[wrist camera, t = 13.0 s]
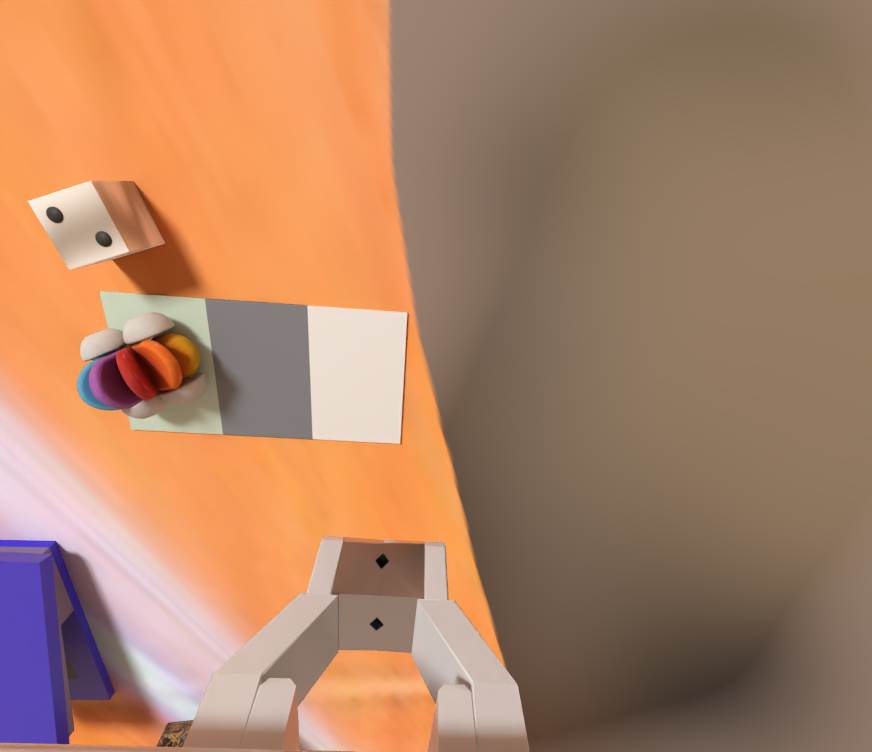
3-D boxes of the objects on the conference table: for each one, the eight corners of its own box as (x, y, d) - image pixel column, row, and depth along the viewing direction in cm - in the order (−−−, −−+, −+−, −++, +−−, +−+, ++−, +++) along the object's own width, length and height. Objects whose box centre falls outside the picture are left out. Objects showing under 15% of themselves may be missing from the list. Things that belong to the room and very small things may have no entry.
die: (78, 199, 36) (26, 201, 31) (134, 181, 35) (90, 180, 30) (112, 259, 37) (68, 270, 33) (165, 243, 37) (128, 251, 32)
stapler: (37, 689, 60) (-31, 777, 51) (-41, 532, 49) (-145, 610, 40) (123, 689, 61) (70, 777, 52) (65, 534, 50) (-15, 612, 41)
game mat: (101, 291, 38) (99, 291, 38) (407, 312, 40) (407, 312, 40) (132, 428, 44) (131, 429, 44) (400, 442, 45) (400, 443, 45)
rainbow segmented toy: (228, 381, 42) (191, 417, 35) (141, 412, 43) (89, 453, 36) (178, 299, 39) (128, 322, 32) (85, 335, 40) (18, 365, 33)
